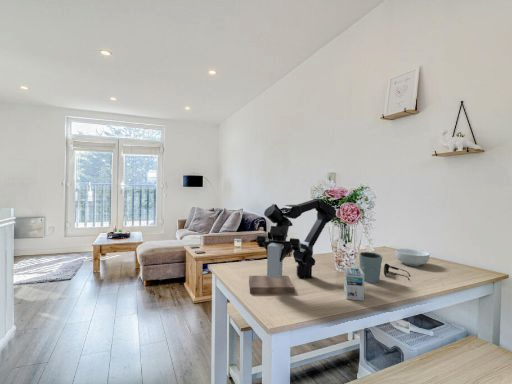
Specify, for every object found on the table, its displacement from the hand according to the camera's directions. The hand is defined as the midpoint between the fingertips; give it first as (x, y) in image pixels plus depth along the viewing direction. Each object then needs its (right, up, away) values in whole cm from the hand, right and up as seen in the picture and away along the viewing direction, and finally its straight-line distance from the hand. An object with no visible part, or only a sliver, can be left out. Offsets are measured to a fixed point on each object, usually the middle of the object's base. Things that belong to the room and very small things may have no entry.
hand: (274, 260), depth 115 cm
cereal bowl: (+81, -13, +45) cm, 93 cm away
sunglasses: (+62, -14, +24) cm, 68 cm away
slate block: (0, -7, +2) cm, 7 cm away
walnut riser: (-1, -13, +7) cm, 15 cm away
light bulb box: (+32, -14, 0) cm, 35 cm away
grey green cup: (+46, -14, +18) cm, 51 cm away
